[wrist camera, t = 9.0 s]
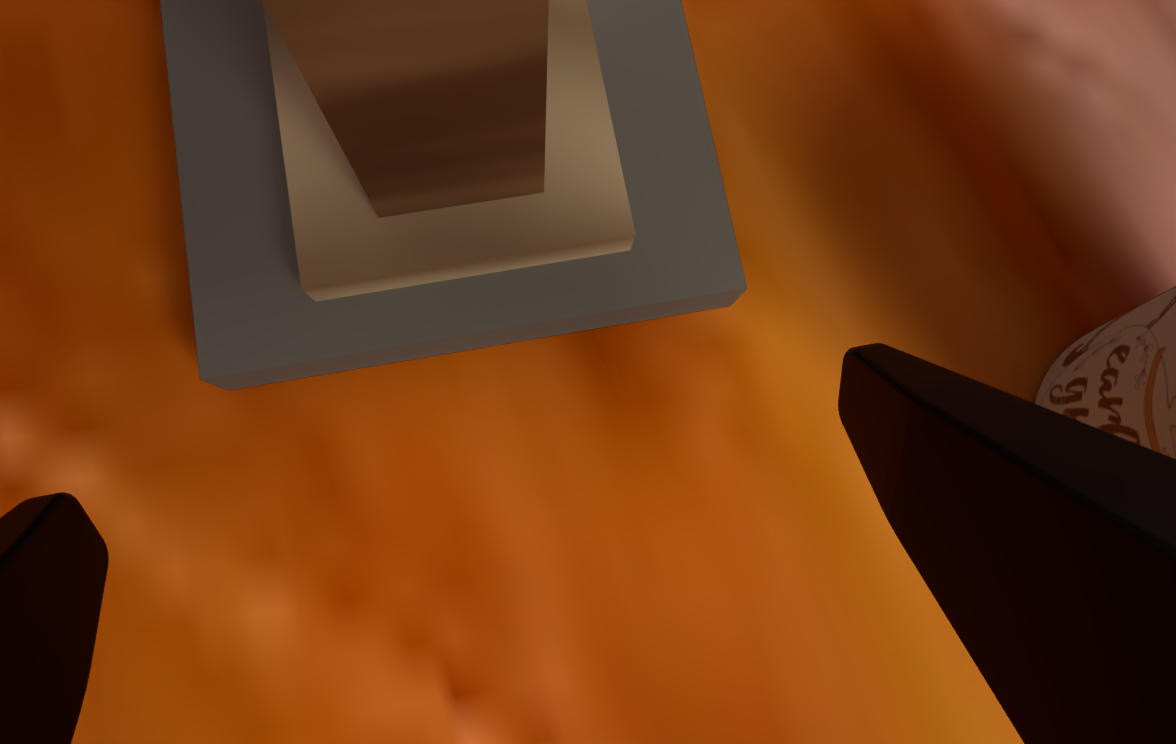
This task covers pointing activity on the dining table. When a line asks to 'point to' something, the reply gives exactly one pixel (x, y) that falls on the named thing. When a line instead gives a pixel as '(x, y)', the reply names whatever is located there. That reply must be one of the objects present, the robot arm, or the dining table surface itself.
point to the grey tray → (452, 307)
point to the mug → (1122, 376)
